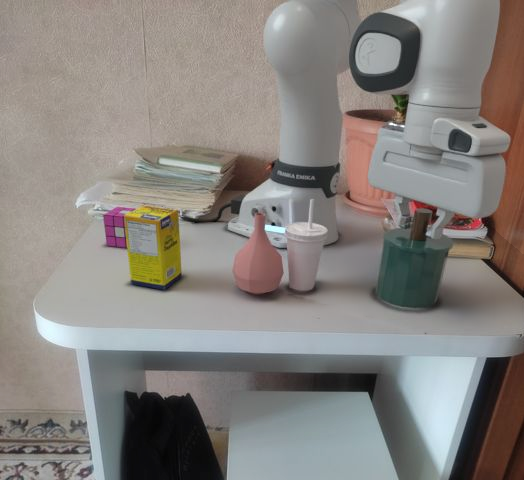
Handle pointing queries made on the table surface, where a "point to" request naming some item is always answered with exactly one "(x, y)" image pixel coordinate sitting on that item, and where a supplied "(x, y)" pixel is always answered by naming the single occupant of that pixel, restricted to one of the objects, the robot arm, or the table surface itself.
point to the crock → (410, 277)
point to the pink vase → (258, 262)
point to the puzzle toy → (116, 226)
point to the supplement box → (153, 246)
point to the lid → (418, 236)
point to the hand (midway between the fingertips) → (418, 232)
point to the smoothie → (304, 251)
